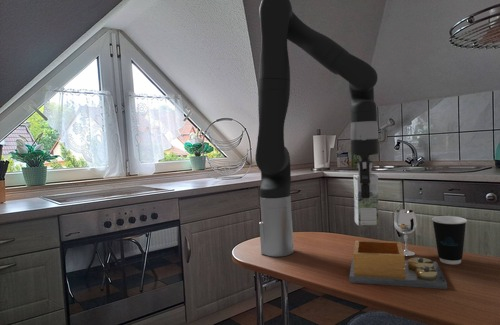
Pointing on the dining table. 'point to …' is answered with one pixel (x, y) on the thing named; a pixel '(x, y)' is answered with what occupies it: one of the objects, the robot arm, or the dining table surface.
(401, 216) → the wineglass
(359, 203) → the syrup box
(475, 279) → the dining table surface
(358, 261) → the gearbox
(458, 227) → the dixie cup
